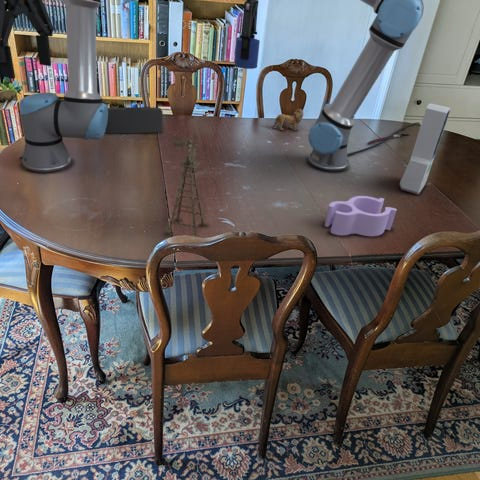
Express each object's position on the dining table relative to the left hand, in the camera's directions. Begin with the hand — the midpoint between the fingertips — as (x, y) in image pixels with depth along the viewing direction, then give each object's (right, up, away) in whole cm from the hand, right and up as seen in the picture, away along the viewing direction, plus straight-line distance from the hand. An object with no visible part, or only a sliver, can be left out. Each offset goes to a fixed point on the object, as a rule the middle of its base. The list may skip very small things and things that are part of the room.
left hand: (28, 71), depth 107 cm
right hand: (+51, +24, +53) cm, 78 cm away
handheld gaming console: (+5, +5, +84) cm, 85 cm away
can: (+51, +22, +55) cm, 78 cm away
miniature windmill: (+33, -36, +25) cm, 55 cm away
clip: (+85, -35, +36) cm, 98 cm away
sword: (+117, +7, +106) cm, 158 cm away
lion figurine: (+70, +12, +105) cm, 127 cm away
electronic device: (+112, -20, +64) cm, 130 cm away
